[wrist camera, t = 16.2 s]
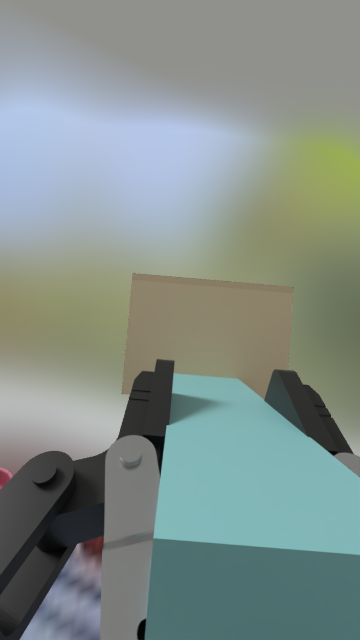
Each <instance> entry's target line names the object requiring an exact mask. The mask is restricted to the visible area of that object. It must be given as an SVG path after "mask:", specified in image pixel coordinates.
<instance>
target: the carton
mask: <svg viewBox="0 0 360 640" xmlns="http://www.w3.org/2000/svg"><path fill="white" fill-rule="evenodd" d="M293 289H294V287H289V286H276V285H264V284H254V283H253V284H252V283H241V282H230V281H218V280H207V279H195V278H183V277H171V276H160V275H147V274H136V273H133V274H132V285H131V296H130V307H129V318H128V329H127V339H126V350H125V361H124V372H123V385H122V394H130V393H131V390H132V386H133V382H134V379H135V378H136V377H137V376H138V375H139V374H140V373H141V372H142V371H151V372H154V371H155V365H156V360H157V359H163V360H175V364H174V376H173V388H172V399H171V410H170V421H169V425H167V427H166V435H165V444H164V452H163V460H162V469H161V477H160V486H159V494H158V503H157V511H156V519H155V528H154V536H153V547H152V559H151V571H150V582H149V594H148V606H147V618H146V629H145V640H360V477H358V476H357V475H356V474H355V473H353V472H352V471H351V470H350V469H349V468H347V467H346V466H345V465H344V464H342V463H341V462H340V461H339V460H338V459H336V458H335V457H334V456H333V455H331V454H330V453H329V452H328V451H326V450H325V449H324V448H323V447H322V446H320V445H319V444H318V443H317V442H315V441H314V440H313V439H312V438H310V437H307V436H306V435H305V434H304V433H302V432H301V431H300V430H299V429H298V428H296V427H295V426H294V425H293V424H292V423H290V422H289V421H288V420H287V419H286V418H284V417H283V416H282V415H281V414H279V413H278V412H277V411H276V410H275V409H273V408H272V407H271V406H270V405H269V404H267V403H266V402H265V401H264V400H265V395H266V392H267V389H268V386H269V382H270V379H271V376H272V373H273V371H274V370H275V369H279V370H288V362H289V347H290V333H291V319H292V303H293Z"/></svg>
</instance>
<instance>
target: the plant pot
mask: <svg viewBox="0 0 360 640" xmlns="http://www.w3.org/2000/svg"><path fill="white" fill-rule="evenodd" d="M12 477H13V475H12V473H11V472H10V471H8V470H6V469H3V468H0V489H1V488H2V487H3V486H4V485H5V484H6V483H7V482H8V481H9V480H10V479H11V478H12Z"/></svg>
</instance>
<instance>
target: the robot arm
mask: <svg viewBox="0 0 360 640" xmlns="http://www.w3.org/2000/svg"><path fill="white" fill-rule="evenodd" d="M174 364H175V360H163V359H157V360H156V365H155V371H154V372H151V371H142V372H141V373H140V374H139V375H138V376H137V377H136V378H135V379H134V382H133V386H132V390H131V393H130V397H129V401H128V404H127V408H126V411H125V415H124V418H123V422H122V425H121V429H120V433H119V436H118V438H117V440H116V441H115V442H114V443H113V444H112V445H111V447H110V448H109V449H108V450H106V451H105V452H103V453H101V454H99V455H96V456H93V457H89V458H84V459H80V460H76V461H72V459H71V457H69V455H67V454H66V453H63V452H60V451H49V452H45V453H42V454H39V455H37V456H35V457H34V458H32V459H31V460H29V461H28V462H27V463H26V464H25V465H24V466H23V467H22V468H21V469H20V470H19V471H18V472H17V473H16V474H15V475H14V476H13V477H12V478H11V479H10V480H9V481H8V482H7V483H6V484H5V485H4V486H3V487H2V488H1V489H0V640H19V639H20V638H21V636H22V634H23V633H24V631H25V630H26V628H27V626H28V625H29V623H30V621H31V620H32V618H33V616H34V615H35V613H36V611H37V610H38V608H39V606H40V605H41V603H42V602H43V600H44V598H45V597H46V595H47V593H48V592H49V590H50V588H51V587H52V585H53V583H54V582H55V580H56V578H57V577H58V575H59V573H60V572H61V570H62V569H63V567H64V565H65V564H66V562H67V560H68V559H69V557H70V555H71V554H72V552H73V550H74V549H75V547H76V545H77V544H78V543H81V542H84V541H88V540H91V539H94V538H97V537H100V536H103V535H104V546H103V551H102V580H101V629H100V640H145V629H146V618H147V606H148V594H149V582H150V571H151V559H152V547H153V536H154V528H155V519H156V511H157V503H158V494H159V486H160V477H161V469H162V460H163V452H164V444H165V435H166V427H167V425H169V421H170V410H171V399H172V388H173V376H174ZM264 401H265V402H266V403H267V404H269V405H270V406H271V407H272V408H273V409H275V410H276V411H277V412H278V413H279V414H281V415H282V416H283V417H284V418H286V419H287V420H288V421H289V422H290V423H292V424H293V425H294V426H295V427H296V428H298V429H299V430H300V431H301V432H302V433H304V434H305V435H306V436H307V437H310V438H312V439H313V440H314V441H315V442H317V443H318V444H319V445H320V446H322V447H323V448H324V449H325V450H326V451H328V452H329V453H330V454H331V455H333V456H334V457H335V458H336V459H338V460H339V461H340V462H341V463H342V464H344V465H345V466H346V467H347V468H349V469H350V470H351V471H352V472H353V473H355V474H356V475H357V476H358V477H360V457H359V456H357V455H354V454H353V452H352V450H351V448H350V447H349V445H348V444H347V442H346V440H345V438H344V437H343V435H342V433H341V432H340V430H339V428H338V426H337V425H336V423H335V421H334V419H333V418H331V414H330V413H329V411H328V409H327V408H326V406H325V404H324V402H323V401H322V399H321V397H320V396H319V394H318V393H316V392H315V391H314V390H313V389H312V388H311V387H310V386H309V385H303V384H302V382H301V380H300V378H299V377H298V375H297V373H296V372H295V371H289V370H279V369H275V370H274V371H273V373H272V376H271V379H270V382H269V386H268V389H267V392H266V395H265V400H264Z"/></svg>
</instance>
